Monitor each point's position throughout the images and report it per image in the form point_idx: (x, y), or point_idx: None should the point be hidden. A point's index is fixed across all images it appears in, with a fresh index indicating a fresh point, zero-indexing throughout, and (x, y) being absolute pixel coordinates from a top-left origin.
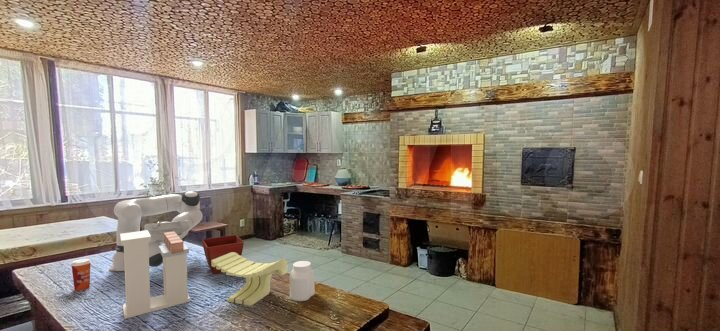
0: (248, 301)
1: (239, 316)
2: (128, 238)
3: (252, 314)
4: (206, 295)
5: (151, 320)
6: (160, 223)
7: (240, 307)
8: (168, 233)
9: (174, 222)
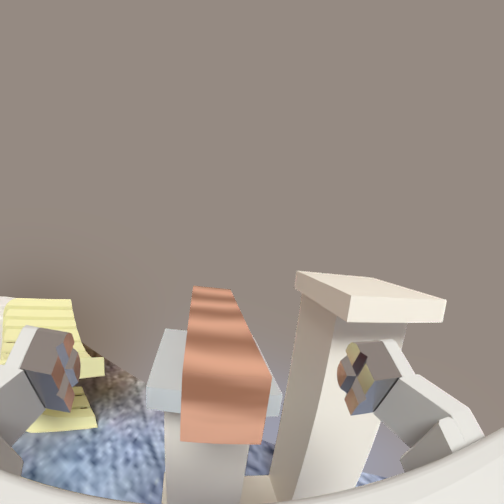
0: (81, 387)
1: (117, 385)
2: (363, 278)
3: (99, 378)
4: (114, 479)
5: (260, 450)
6: (402, 476)
7: (96, 398)
8: (233, 354)
9: (66, 490)
